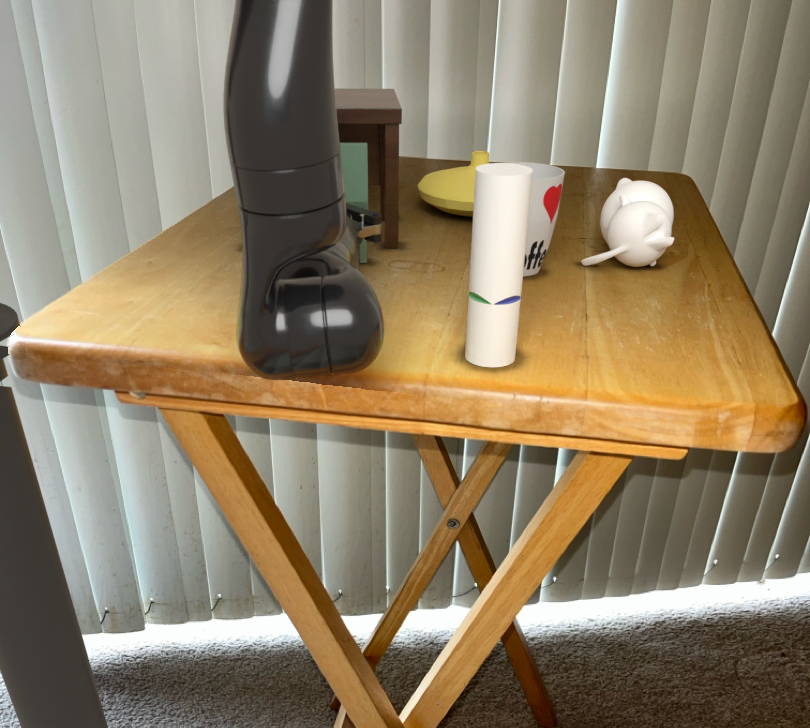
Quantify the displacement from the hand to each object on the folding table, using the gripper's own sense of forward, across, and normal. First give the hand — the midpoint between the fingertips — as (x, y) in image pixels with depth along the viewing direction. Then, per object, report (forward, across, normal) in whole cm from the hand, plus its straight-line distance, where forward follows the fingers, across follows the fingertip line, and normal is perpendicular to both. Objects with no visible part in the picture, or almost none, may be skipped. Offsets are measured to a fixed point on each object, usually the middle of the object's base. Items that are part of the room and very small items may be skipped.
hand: (319, 204), depth 88 cm
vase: (+22, -20, +7) cm, 30 cm away
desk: (+12, 0, +6) cm, 14 cm away
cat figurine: (+1, -34, +6) cm, 34 cm away
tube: (-25, -15, +6) cm, 30 cm away
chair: (+5, 0, +6) cm, 8 cm away
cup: (-2, -21, +6) cm, 22 cm away
